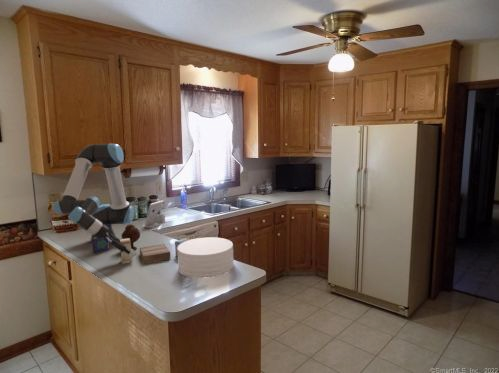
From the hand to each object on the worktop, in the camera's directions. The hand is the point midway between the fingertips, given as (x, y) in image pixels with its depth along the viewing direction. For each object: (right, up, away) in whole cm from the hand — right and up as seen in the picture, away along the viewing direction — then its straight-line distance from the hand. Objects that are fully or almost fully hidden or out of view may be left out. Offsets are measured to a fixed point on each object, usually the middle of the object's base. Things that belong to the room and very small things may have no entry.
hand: (133, 254), depth 187 cm
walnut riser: (+10, -2, +5) cm, 12 cm away
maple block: (-3, -4, -1) cm, 5 cm away
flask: (-25, -2, +17) cm, 30 cm away
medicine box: (+26, -2, +7) cm, 27 cm away
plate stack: (+41, -4, -11) cm, 43 cm away
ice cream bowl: (-7, -1, +19) cm, 20 cm away
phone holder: (-10, +8, +76) cm, 77 cm away
